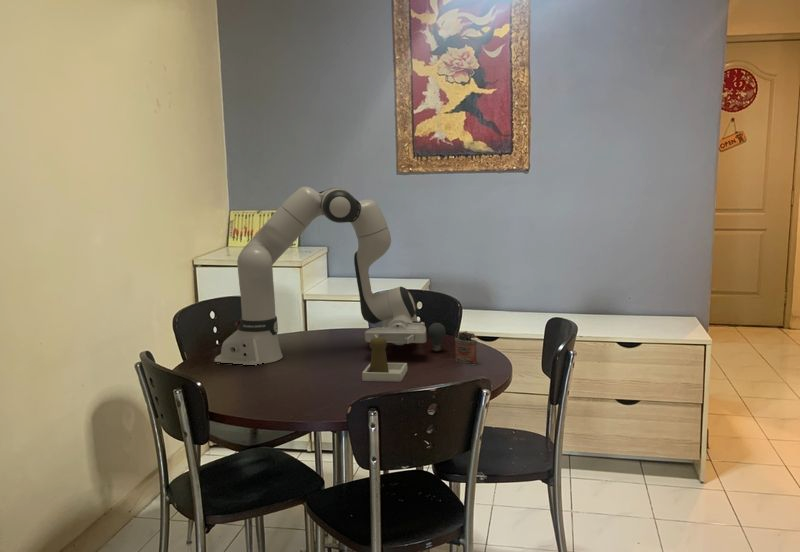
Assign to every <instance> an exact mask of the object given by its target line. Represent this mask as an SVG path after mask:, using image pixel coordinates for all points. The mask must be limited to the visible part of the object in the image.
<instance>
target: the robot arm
mask: <svg viewBox="0 0 800 552" xmlns="http://www.w3.org/2000/svg"><path fill="white" fill-rule="evenodd" d="M320 216H324V217H325V218H326V219H327V220H330V221H331V222H334V223H339V224H342V223H350V225H352V227H353V229H354V231H355V232H354V233H355V235H356V238H357V243H358V247H357V251H355V253H354V255H353V262H354V271H355V277H356V282H357V288H358V289H357V290H358V296H359V305H360V313H361V316H362V319H363V320H365V321H366V322H368V323H370V324H371V325H376V324H378V323H382V321H383V320H386V319H390V318H393V320H392V321H391V322H390V323H389V324H388V326H387V328H386V327H382V326H381V327H379V326H377V327H370V328H368V329H367V330H365V331H364V341H365V342H366V343H370V341H371V339H373V338H384V339H385V340H386V342H387V344H389V343H390V344H391V343H392V344H393V345H396V346H404V345H406V344H407V345H409V344H425V343H427V327H426V325H425V324H426V323H425V322H424V321H418V317H417V315H416V312H417V304H416V301H415V298H414V296H413V294H412V292H411V291H410V290H409V289H407V288H406V287H403V286H398V287H394V288H391V289H388V290H385V291H381V292H377V293H373V291H372V286H371V280H370V274H369V271H370V267H371V266H372V265H373V264H374V263H375V262H376V261H378V260H379V259H381V258H382V257H383V256H384V255H385V254H386V253H387V252H388V250H389V249H390V247H391V244H392V238H391V233H390V229H389V226H388V224H387V223H388V222H387V221H386V218H385V216H384V214H383V212H382V210H381V208H380V206H379V205H378V203H377V202H376V201H375V200H373V199H365V198H364V199H361V200H357V199H356V198H355V197H354V196H353V195H352V194H351V193H350V192H349V191H348V190H346V189H344V188H341V187H331V188H328V189H326V190H325V189H324V190H323V191H319V192H318V191H317V190H316V189H314V188H312V187H311V186H302V187H299V188H298V189H297V190H296V191H295V192H293V193H292V194H291V195H289V197H288V198H287V199H285V200H284V202H282V204H281V205H280V206H279V207H278V208H277V209H276V211H275V212H274V213H273V214H272V215H271V217H270V218H269V219H268V220H267V221H266V222H265V223H264V224H263V226H261V228H259V230H258V231H257V232H256V233H255V235H254V236H253V237H252V238H251V239H250V240H249V241H248V242H247V244H246V245H245V246H244V247H243V248H242V249H241V250H240V252H239V255H238V257H237V261H236V263H237V276H238V285H239V293H240V307H241V318H240V319H238V320H237V321H236V322H235V326H237V330H236V331H234V332H232V334H231V335H230V336H228V337H227V338H226V339H225V340H224V341H223V342H222V345H221V349H220V351H221V352H220V354H218V355H216V356H215V358H214V363H215V362H221V363H233V364H243V365H255V366H258V365H257V364H259V365H263V364H262V363H264V364H270V363H274V362H277V361H279V360H281V359H283V357H284V356H283V353H282V350H281V347H280V342H279V338H278V337H279V336H278V331H279V323H278V317H277V315H276V314H277V313H276V299H275V287H274V286H275V285H274V273H273V272H274V270H273V265H274V264H275V263H276V262H277V261H278V260H279V258H280V257H282V255H283V254H285V252H286V251H287V250H288V249H289V248H290V247H291V246H292V245H293V244H294V243H295V242H296V240H297V239H298V238H299V237H300V236H301V235H302V234H303V232H304V231H305V230H306V229H307V227H308V226H310V224H311V223H312V222H313V221H314V220H315V219H316V218H318V217H320ZM243 365H242V366H243Z"/></svg>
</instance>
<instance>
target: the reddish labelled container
mask: <svg viewBox="0 0 800 552" xmlns="http://www.w3.org/2000/svg"><path fill="white" fill-rule="evenodd" d="M457 336H458V337H455V338H454V342H455V358H454V362H455V361H456V362H455V363H458V362H459V364H462V363H464V364H463V365H468V364H476V365H477V364H478V361H477V344H478V341H477V340H476V339H474V338H475V337H476V335H475V333H473V332H468V331H466V330H465V331H458V333H457Z"/></svg>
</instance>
